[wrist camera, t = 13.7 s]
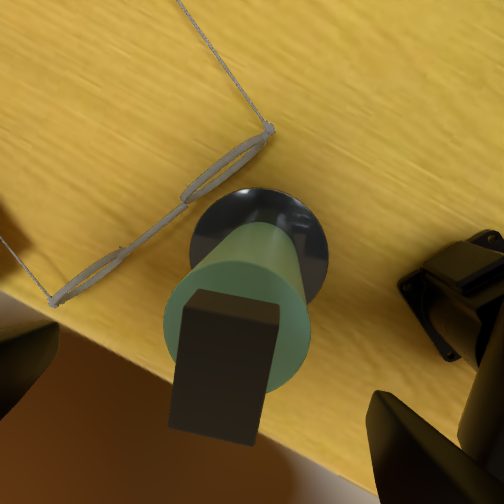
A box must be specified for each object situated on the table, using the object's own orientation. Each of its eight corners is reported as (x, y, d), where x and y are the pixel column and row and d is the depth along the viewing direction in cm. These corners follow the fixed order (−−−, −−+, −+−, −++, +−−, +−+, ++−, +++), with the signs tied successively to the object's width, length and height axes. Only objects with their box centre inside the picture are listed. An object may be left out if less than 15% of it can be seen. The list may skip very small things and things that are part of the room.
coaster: (354, 275, 20) (356, 277, 20) (242, 342, 22) (241, 346, 22) (276, 157, 19) (275, 157, 19) (165, 238, 21) (162, 240, 20)
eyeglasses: (77, 302, 23) (33, 325, 19) (-105, 80, 21) (-195, 54, 17) (281, 141, 19) (280, 129, 15) (80, -144, 17) (18, -242, 13)
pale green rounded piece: (268, 452, 16) (327, 463, 6) (175, 431, 16) (82, 407, 6) (295, 258, 22) (345, 105, 12) (227, 245, 23) (221, 85, 13)
